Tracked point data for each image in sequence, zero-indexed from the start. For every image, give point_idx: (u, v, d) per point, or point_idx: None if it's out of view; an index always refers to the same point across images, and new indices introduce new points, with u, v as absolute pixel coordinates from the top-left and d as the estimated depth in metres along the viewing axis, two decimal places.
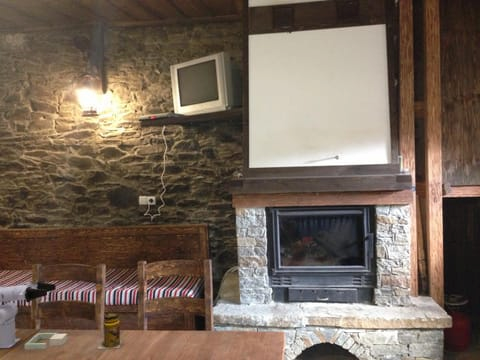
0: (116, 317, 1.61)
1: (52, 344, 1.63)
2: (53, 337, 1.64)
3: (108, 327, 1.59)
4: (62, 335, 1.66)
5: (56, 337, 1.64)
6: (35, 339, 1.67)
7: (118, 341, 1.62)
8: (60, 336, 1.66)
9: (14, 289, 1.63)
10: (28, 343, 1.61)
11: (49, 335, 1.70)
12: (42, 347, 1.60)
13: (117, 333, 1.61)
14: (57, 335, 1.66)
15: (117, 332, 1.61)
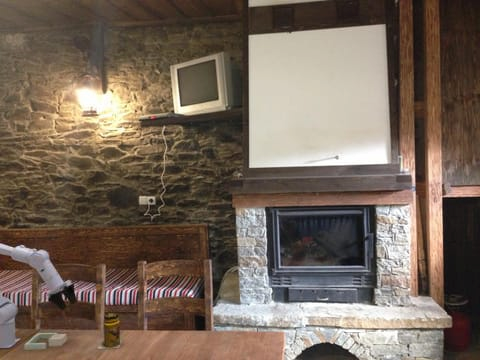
0: (116, 317, 1.61)
1: (51, 344, 1.63)
2: (52, 337, 1.64)
3: (108, 327, 1.60)
4: (62, 336, 1.65)
5: (56, 338, 1.64)
6: (35, 339, 1.67)
7: (118, 341, 1.62)
8: (59, 336, 1.65)
9: (58, 274, 1.66)
10: (28, 343, 1.61)
11: (49, 335, 1.70)
12: (42, 347, 1.60)
13: (117, 333, 1.61)
14: (56, 335, 1.66)
15: (117, 332, 1.61)
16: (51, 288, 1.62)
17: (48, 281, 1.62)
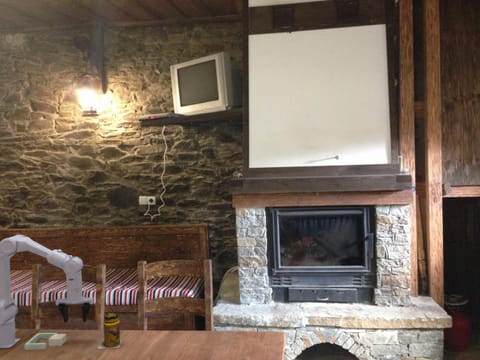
0: (116, 317, 1.61)
1: (51, 344, 1.63)
2: (52, 337, 1.64)
3: (108, 327, 1.59)
4: (61, 336, 1.65)
5: (55, 338, 1.64)
6: (35, 339, 1.67)
7: (118, 341, 1.62)
8: (59, 336, 1.65)
9: None
10: (28, 343, 1.61)
11: (49, 335, 1.70)
12: (42, 347, 1.60)
13: (117, 333, 1.61)
14: (56, 335, 1.66)
15: (117, 332, 1.61)
16: (73, 299, 1.62)
17: (74, 291, 1.62)
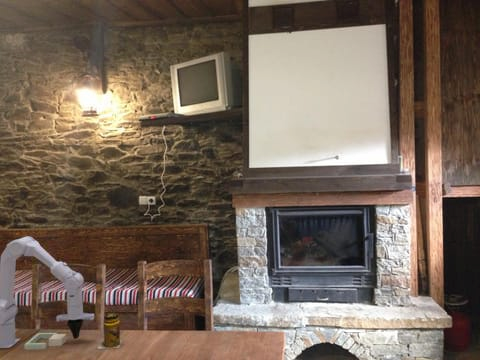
0: (116, 317, 1.61)
1: (51, 344, 1.63)
2: (52, 337, 1.64)
3: (108, 327, 1.60)
4: (61, 336, 1.65)
5: (56, 338, 1.64)
6: (35, 339, 1.67)
7: (118, 341, 1.62)
8: (59, 336, 1.65)
9: None
10: (28, 343, 1.61)
11: (49, 335, 1.70)
12: (42, 347, 1.60)
13: (117, 333, 1.61)
14: (56, 335, 1.66)
15: (117, 332, 1.61)
16: (73, 315, 1.62)
17: (75, 308, 1.63)
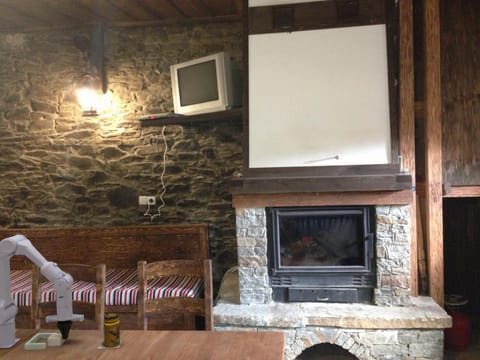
0: (116, 317, 1.61)
1: (50, 344, 1.63)
2: (51, 337, 1.64)
3: (108, 327, 1.59)
4: (60, 335, 1.66)
5: (54, 337, 1.64)
6: (35, 339, 1.67)
7: (118, 341, 1.62)
8: (58, 335, 1.65)
9: None
10: (28, 343, 1.61)
11: (49, 335, 1.70)
12: (42, 347, 1.60)
13: (117, 333, 1.61)
14: (55, 335, 1.66)
15: (117, 332, 1.61)
16: (63, 316, 1.62)
17: (64, 309, 1.63)
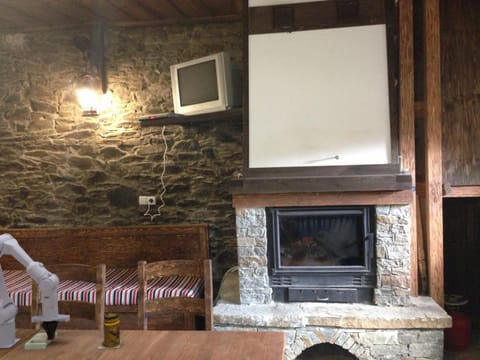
0: (116, 317, 1.61)
1: None
2: (37, 338, 1.64)
3: (108, 327, 1.59)
4: (46, 336, 1.65)
5: (40, 338, 1.64)
6: None
7: (118, 341, 1.62)
8: (43, 336, 1.65)
9: None
10: (28, 343, 1.61)
11: None
12: (42, 347, 1.60)
13: (117, 333, 1.61)
14: (41, 336, 1.66)
15: (117, 332, 1.61)
16: (48, 317, 1.62)
17: (49, 309, 1.62)
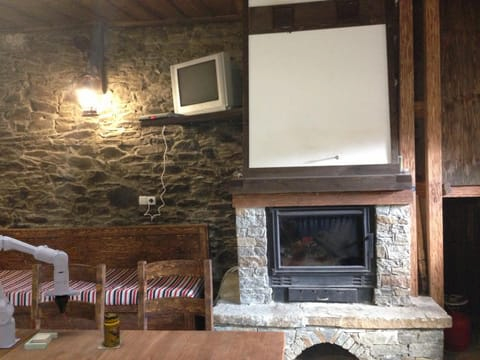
0: (116, 317, 1.61)
1: None
2: (37, 338, 1.64)
3: (108, 327, 1.59)
4: (46, 336, 1.65)
5: (40, 338, 1.64)
6: None
7: (118, 341, 1.62)
8: (43, 336, 1.65)
9: None
10: (28, 343, 1.61)
11: None
12: (42, 347, 1.60)
13: (117, 333, 1.61)
14: (41, 336, 1.66)
15: (117, 332, 1.61)
16: (60, 291, 1.70)
17: (61, 284, 1.70)
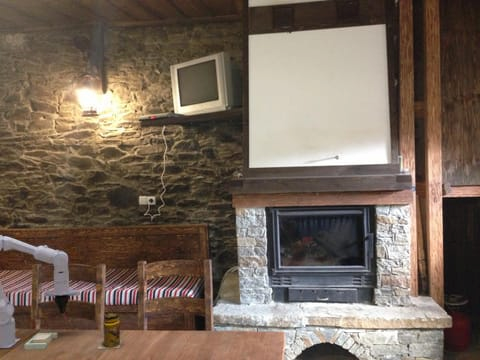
0: (116, 317, 1.61)
1: None
2: (37, 338, 1.64)
3: (108, 327, 1.59)
4: (46, 336, 1.65)
5: (40, 338, 1.64)
6: None
7: (118, 341, 1.62)
8: (43, 336, 1.65)
9: None
10: (28, 343, 1.61)
11: None
12: (42, 347, 1.60)
13: (117, 333, 1.61)
14: (41, 336, 1.66)
15: (117, 332, 1.61)
16: (60, 291, 1.70)
17: (61, 284, 1.70)
